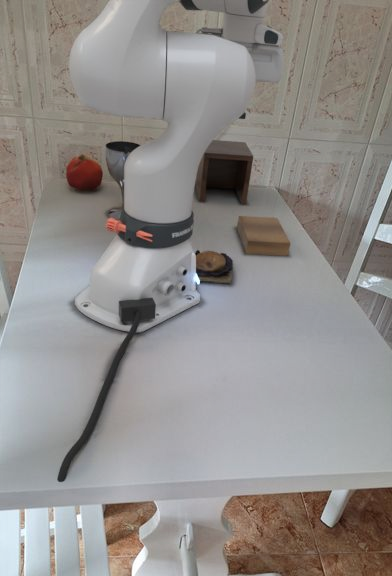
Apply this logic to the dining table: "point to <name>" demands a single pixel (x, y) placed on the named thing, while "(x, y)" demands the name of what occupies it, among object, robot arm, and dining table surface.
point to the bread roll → (213, 267)
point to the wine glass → (118, 166)
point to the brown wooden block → (263, 236)
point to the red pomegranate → (84, 173)
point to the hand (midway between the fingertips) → (233, 100)
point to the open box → (225, 168)
